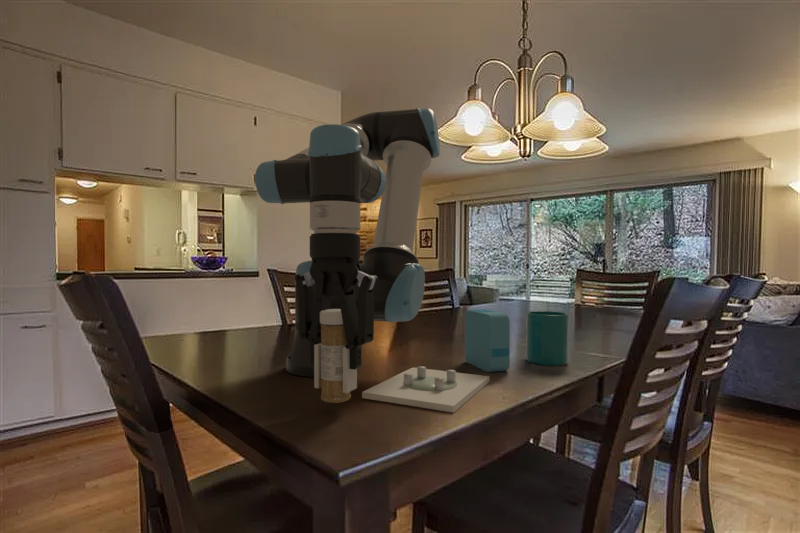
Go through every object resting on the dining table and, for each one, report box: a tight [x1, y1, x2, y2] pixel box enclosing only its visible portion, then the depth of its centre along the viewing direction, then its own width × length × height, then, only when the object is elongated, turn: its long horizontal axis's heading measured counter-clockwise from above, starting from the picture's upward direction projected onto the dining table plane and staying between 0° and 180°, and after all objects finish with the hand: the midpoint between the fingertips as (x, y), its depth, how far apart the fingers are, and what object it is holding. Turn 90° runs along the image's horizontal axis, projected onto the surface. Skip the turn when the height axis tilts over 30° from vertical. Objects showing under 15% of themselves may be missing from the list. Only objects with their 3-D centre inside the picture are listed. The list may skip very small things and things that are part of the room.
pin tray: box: [361, 365, 490, 413], centre depth 80 cm, size 16×20×3 cm
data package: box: [464, 309, 511, 373], centre depth 98 cm, size 12×4×12 cm, turn 17°
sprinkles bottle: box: [320, 309, 352, 404], centre depth 68 cm, size 5×5×13 cm
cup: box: [525, 310, 569, 367], centre depth 104 cm, size 9×12×11 cm
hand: (335, 387), depth 68 cm, fingers closed on sprinkles bottle, 4 cm apart
